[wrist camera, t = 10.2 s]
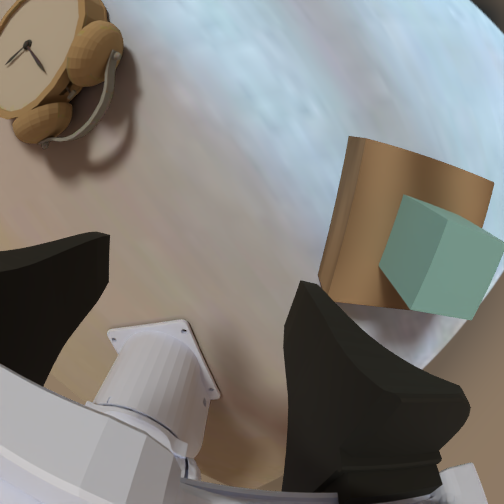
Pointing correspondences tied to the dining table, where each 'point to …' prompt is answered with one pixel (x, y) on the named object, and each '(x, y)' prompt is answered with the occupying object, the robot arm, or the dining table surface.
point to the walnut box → (386, 215)
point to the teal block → (439, 260)
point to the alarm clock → (55, 65)
